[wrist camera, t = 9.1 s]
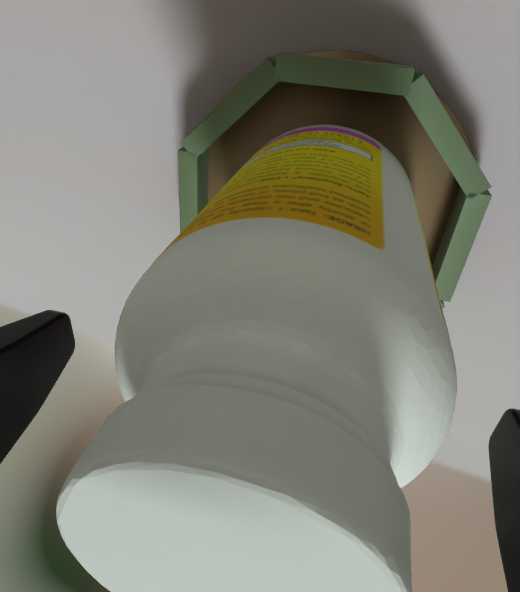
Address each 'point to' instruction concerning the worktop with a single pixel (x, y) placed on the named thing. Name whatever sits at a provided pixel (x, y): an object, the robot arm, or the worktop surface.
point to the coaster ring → (356, 115)
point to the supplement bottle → (273, 387)
